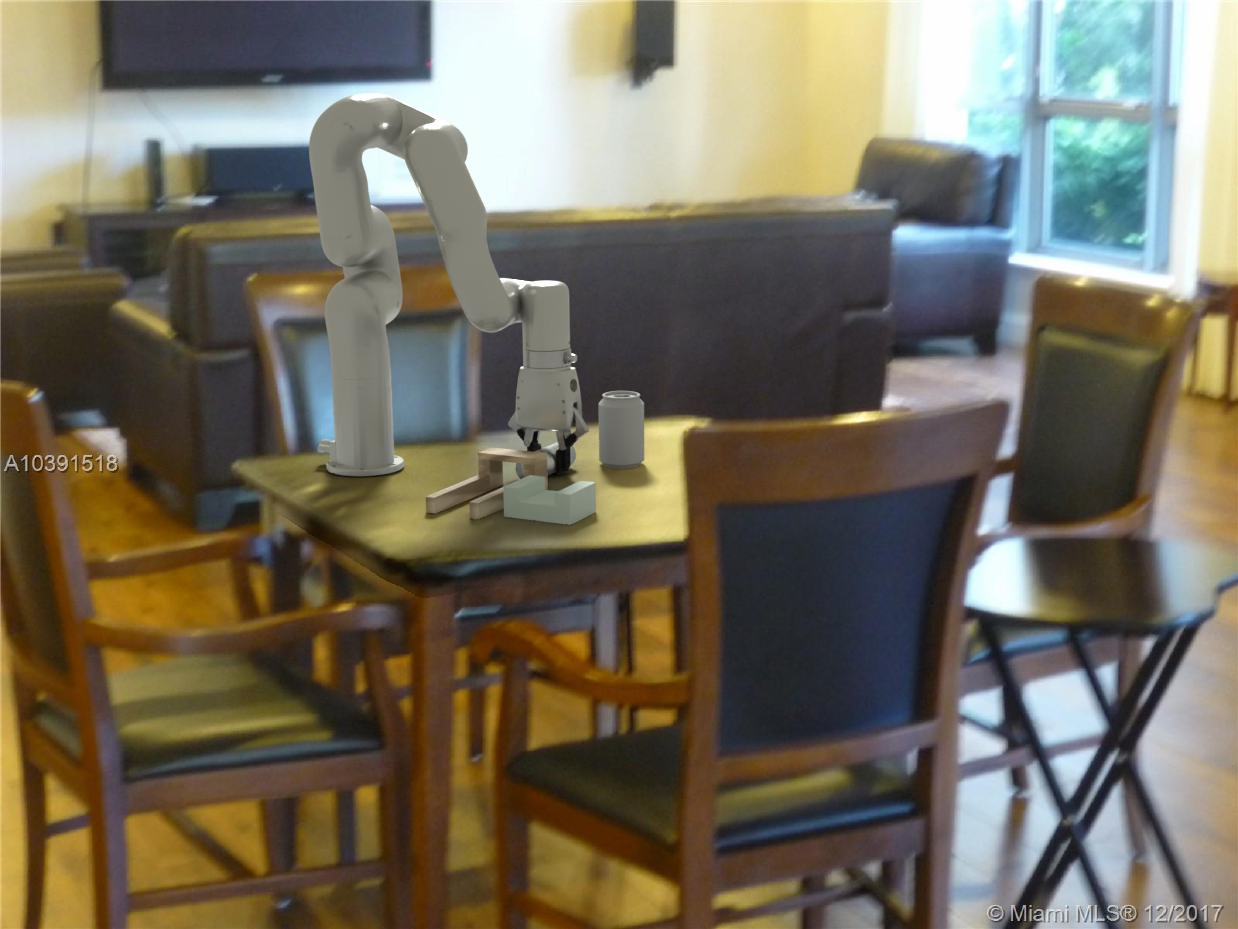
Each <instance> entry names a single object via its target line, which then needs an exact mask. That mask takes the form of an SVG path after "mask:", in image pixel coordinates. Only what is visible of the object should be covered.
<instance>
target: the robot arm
mask: <svg viewBox="0 0 1238 929" xmlns="http://www.w3.org/2000/svg"><path fill="white" fill-rule="evenodd" d="M308 144H309V145H308V154H309V158H308V159H309V164H310V172H311V176H312V184H313V191H314V201H315V207H316V214H317V221H318V227H319V236H320V244H321V248H322V251H323V253H324V255H325V257H326V258H327V259H328V260H329V261H330V262H331V263H332V264H333V265H336V266H337V267H339V268H340V267H341V268H342V269H343V275H344V278H343V279H341V280H340V281H338V282H337V283H335V284H334V286H333V287H332V288H331V289H330V291H329V292H328V295H327V297H326V300H325V305H324V319H325V325H326V326H325V327H326V332H327V336H328V337H327V339H328V343H329V344H328V345H329V353H330V368H331V370H330V371H331V382H332V383H331V384H332V387H331V388H332V401H333V402H332V407H333V408H332V410H333V430H334V439H326V438H322V439H321V440H319V441H320V442H319V444H318V445H317V452H318V453H320V454H321V453H322V454H329V460H328V461H327V462H326V470H327V471H328V472H329V473H331V474H333V473H334V475H339V476H345V477H373V476H374V477H375V476H382V475H388V474H392V473H396V472H399V471H400V470H403V468H404V466H405V460H404V458H402V457H401V456H399V455H395V445H394V444H395V443H394V442H395V441H394V419H393V415H394V413H393V412H394V411H393V389H392V369H391V367H392V366H391V352H390V345H389V340H388V334H387V328H386V327H387V326H386V325H388V324H389V323H391V322H392V321H394V319H395V318H396V317H397V316H398V314H399V313H400V311H401V310H402V305H403V296H404V295H403V284H402V278H401V270H400V262H399V257H398V250H397V249H398V248H397V242H396V236H395V235H396V234H395V231H394V229H393V225H392V223H391V221H390V219H389V217H388V216H387V214H386V213H384V211H382V210H381V209H380V208H378V206H376V205H372V204H371V198H370V192H369V182H368V178H367V173H366V169H365V166H364V165H363V154H364V152H365V151H366V150H368V149H376V148H377V149H380V150H382V151H385V152H386V153H389V154H391V155H393V156H395V157H398V158H400V159H402V160H404V162H405V165H406V168H407V169H408V172H409V175H410V177H411V178H412V181H413V183H414V185H415V188H416V189H417V191H418V194H419V195H420V197H421V200H422V203H423V204H424V206H425V209H426V211H427V213H428V216H429V218H430V220H431V222H432V225H433V226H434V228H435V232H436V235H437V239H438V240H437V241H438V246H439V249H440V252H441V255H442V259H443V262H444V268H445V270H446V271H445V272H446V274H447V276H448V279H449V283H450V285H451V286H452V289H453V292H454V294H455V295H456V298H457V301H459V302H458V303H459V305H460V307H461V308H462V311H463V313H464V315H465V316H466V318H467V319H468V321H469V322H470V323H471V325H473V326H474V328H476V329H478V330H479V331H481V332H485V333H498V332H499V331H502V330H504V329H505V328H507V327H509V326H511V325H513V324H516V323H517V324H518V323H522V324H521V327H522V328H521V329H522V332H521V333H522V361H523V362H522V365H523V366H520V368H519V372H518V377H517V382H516V383H517V385H516V393H515V394H516V395H515V411H514V413H513V415H512V416H511V417H510V419H509V421H508V423H507V425H508V427H509V428H511V429H512V431H514V433H516V435H517V436H518V437H519V438H520V439H521V440H522V441H523V445H524V447H526V451H531V452H535V451H537V450H539V449H542V448H543V447H542V444H541V443H539V438H540V432H541V431H548V432H549V431H550V432H554V433H555V435H556V436H555V437H556V441H557V442H558V445H559V449H558V450H556V472H555V473H556V474H557V475H563V474H565V473H567V472H569V470H570V468H571V466H572V465H571V460H570V447H572V446H573V447H574V444H575V443H577V441H579V439H581V437H583V436H584V435H586V434H588V433H589V431H590V429H589V427H588V425H587V424H586V421H585V420H584V418H583V410H582V409H583V408H582V407H583V406H582V398H581V397H582V396H581V389H580V382H579V378H578V374H577V370H576V367H574V366H572V363H576V362H578V355H577V354H576V353H572V348H571V332H570V331H571V328H570V327H571V326H570V324H571V323H570V318H571V317H570V290H569V287H568V285H567V284H566V283H565V282H562V281H559V280H550V279H549V280H534V281H528V280H521V279H514V278H513V279H512V278H508V277H507V278H506V277H499V273H498V271H497V269H496V267H495V264H494V262H493V259H492V256H491V253H490V250H489V245H488V239H487V231H488V230H487V228H488V215H487V210H486V207H485V204H484V202H483V200H482V198H481V196H480V193H479V191H478V190H477V186H476V184H475V182H474V179H473V178H472V176H471V174H470V172H469V169H468V167H467V164H466V161H467V159H468V154H469V153H468V150H469V148H468V142H467V140H466V137H465V135H464V134H463V133H462V131H461V130H460V129H459V128H457V127H456V126H455V125H454V124H452V123H450V122H448V121H446V120H443V119H442V118H439V117H437V116H435V115H432V114H430V113H428V112H425V111H423V110H421V109H419V108H417V107H414V106H412V105H410V104H408V103H406V102H405V101H402V100H400V99H397V98H395V97H393V96H391V95H388V94H383V93H376V92H375V93H357V94H351V95H348V96H346V97H343V98H341V99H339V100H337V101H336V102H333V103H332V104H331V105H330V106H329V107H327V108H326V109H325V110H324V111H322V113H321V114H320V115H319V117H317V119H316V121H315V123H314V125H313V127H312V129H311V133H310V136H309V142H308ZM571 428H575V430H574V431H573V432H572V430H571ZM570 465H571V466H570Z"/></svg>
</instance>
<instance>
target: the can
mask: <svg viewBox="0 0 1238 929" xmlns="http://www.w3.org/2000/svg"><path fill="white" fill-rule="evenodd" d="M601 395H602V399H600V401H599V402H598V461H599V462H600V463H601V464H603V466H604V467H606V468H610V469H616V470H617V469H619V470H622V469H623V470H625V469H626V470H627V469H634V468H637V467H639V466H640V465H641V464H642V463H643V462H644V461H645V403H644V401H643V400H642V399H641V398H640V397H641V394H640V393H639V392H636V391H630V390H615V391H614V390H612V391H607V392H604V393H602V394H601Z"/></svg>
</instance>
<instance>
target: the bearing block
mask: <svg viewBox="0 0 1238 929" xmlns="http://www.w3.org/2000/svg"><path fill="white" fill-rule="evenodd" d="M503 462H506V463H512V464H513V463H514V464H516V463H521V464H523V478H525V477H527V476H529V475H533V476H542V477H545V490H549V489H548V487H549V486H548V485H549V483H548V476H547V453H540V452H531V451H527V450H518V449H511V448H501V447H500V448H499V447H489V448H486V449H483V450H481V451H479V452H477V465H478V466H477V467H478V468H477V469H478V474H477V475H475V476H472V477H469V478H467V479H465V480H463V481H460V482H457V483H456V484H453V485H450V486H448V487H446V488H443V489H440V490H439V491H436V492H434V493H430V494H428V495H426V496H425V514H429V513H436V514H438V512H439V513H441V512H443V511H446V510H448V509H450V508H452V507H455V506H456V505H459V504H461V503H463V502H466V501H468V500H470V499H473V498H475V499H473V500H471V501H468V502H469V504H468V505H469V519H470V518H474V519H473V520H477V519H479V520H481V519H483V518H482V517H484V518H485V517H487V516H490V515H492V514H494V513H497V512H499V511H501V510H504V496H503V487H504V474H503V473H504V470H503V469H504V468H503V467H504V465H503ZM500 486H503V487H501V488H498V487H500ZM495 488H498V489H495ZM494 489H495V490H494ZM491 490H493V491H491ZM489 491H491V492H489ZM486 492H489V493H486ZM485 493H486V494H485ZM482 494H485V495H482ZM480 495H482V496H480ZM478 496H479V497H478ZM476 497H477V498H476ZM442 510H443V511H442ZM440 511H441V512H440ZM480 518H481V519H480Z"/></svg>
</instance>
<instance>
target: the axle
mask: <svg viewBox="0 0 1238 929" xmlns="http://www.w3.org/2000/svg"><path fill="white" fill-rule="evenodd" d="M541 448H542V449H539V450H537V451H535V452H540V453H547V477H548V476H551V475H552V474H555V473H556V450H558V449H559V445H558V441H557V442H554V443H552V444H550V445H549V444H548V445H546V446H545V447H541ZM576 458H577V452H576V449H575V447H574V445H573V446H572V447H570V460H571V465H570V467H571V466H572V465H574V463H575V462H576ZM515 473H516V475H517V477H518V478H519V480H520V479H522V478H523V464H521V463H515Z"/></svg>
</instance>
